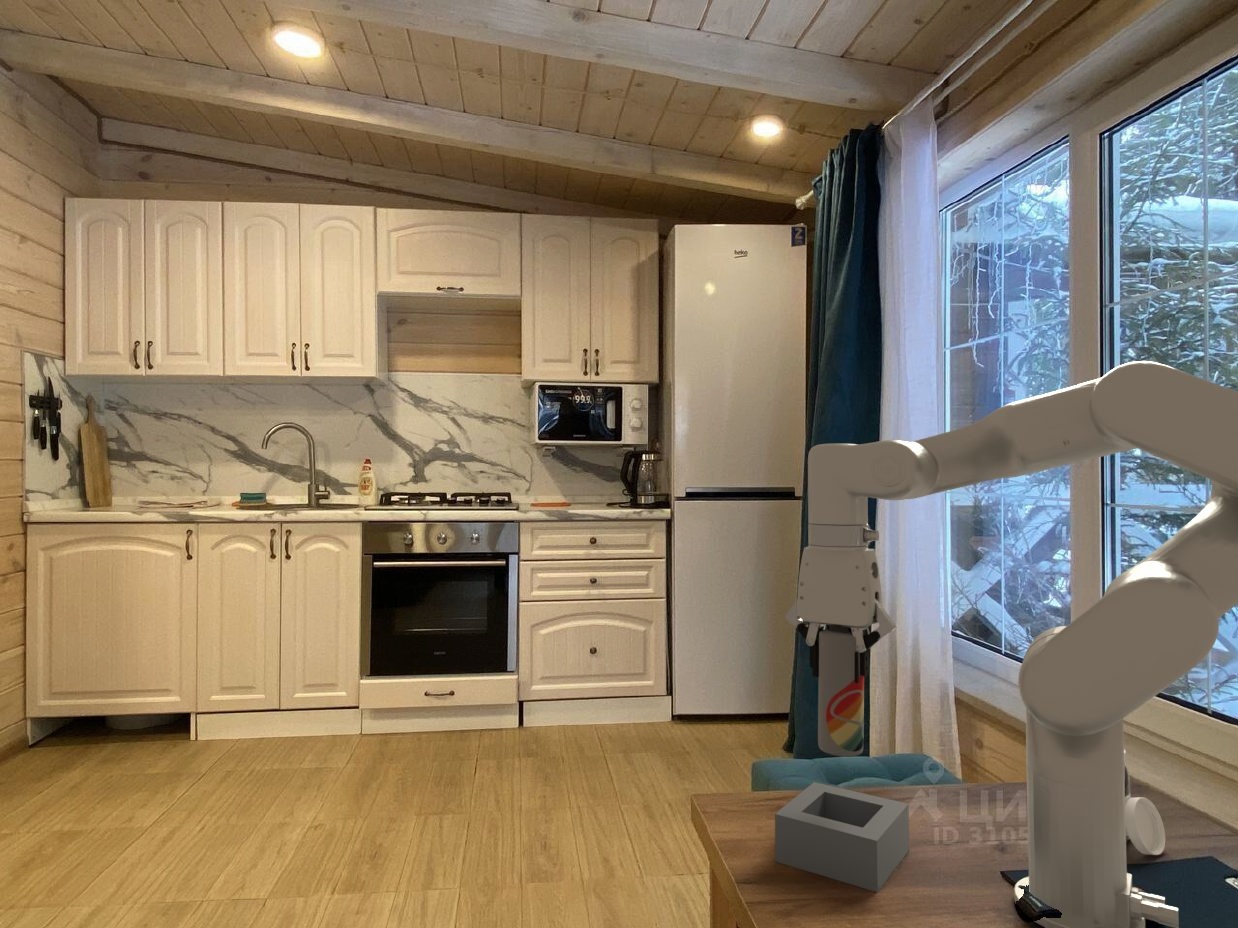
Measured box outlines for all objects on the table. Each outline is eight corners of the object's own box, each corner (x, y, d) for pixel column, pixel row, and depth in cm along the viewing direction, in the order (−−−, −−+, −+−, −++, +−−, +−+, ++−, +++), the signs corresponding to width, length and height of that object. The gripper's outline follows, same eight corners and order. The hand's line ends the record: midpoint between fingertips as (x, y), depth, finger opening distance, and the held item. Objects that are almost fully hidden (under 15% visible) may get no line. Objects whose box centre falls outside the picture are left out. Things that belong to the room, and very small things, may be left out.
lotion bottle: (865, 758, 97) (866, 599, 98) (819, 755, 99) (820, 597, 99) (861, 743, 103) (862, 593, 103) (816, 740, 104) (818, 591, 105)
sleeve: (909, 849, 102) (908, 803, 102) (877, 892, 91) (876, 840, 91) (814, 824, 109) (814, 781, 110) (775, 861, 99) (774, 813, 99)
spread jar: (1066, 813, 113) (1064, 732, 113) (1161, 830, 107) (1159, 745, 107) (1065, 846, 103) (1063, 757, 103) (1169, 867, 97) (1167, 773, 97)
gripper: (912, 539, 100) (914, 681, 99) (789, 533, 110) (789, 663, 109) (895, 542, 94) (896, 694, 93) (765, 536, 103) (766, 674, 103)
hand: (838, 676), depth 101 cm, fingers closed on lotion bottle, 4 cm apart
